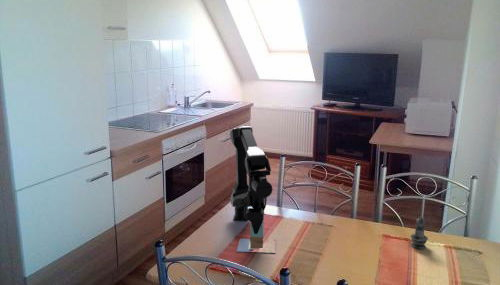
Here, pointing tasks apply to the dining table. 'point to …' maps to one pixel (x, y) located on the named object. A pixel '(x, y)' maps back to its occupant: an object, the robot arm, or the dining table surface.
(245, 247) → the blueprint mat
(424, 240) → the dark grey flanged nozzle
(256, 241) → the walnut cube
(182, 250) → the dining table surface
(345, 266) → the dining table surface
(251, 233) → the teal cube
